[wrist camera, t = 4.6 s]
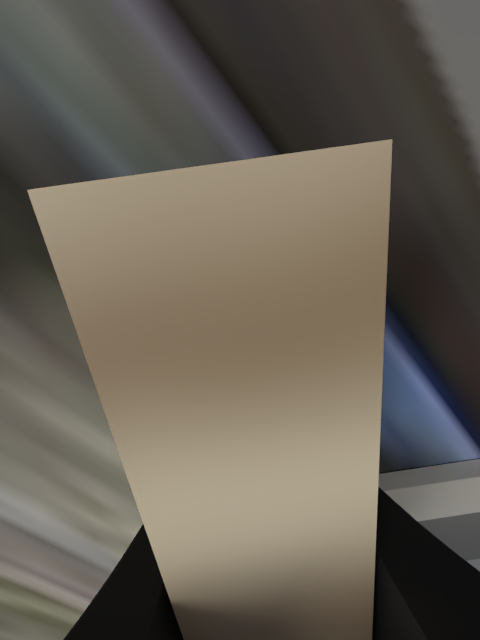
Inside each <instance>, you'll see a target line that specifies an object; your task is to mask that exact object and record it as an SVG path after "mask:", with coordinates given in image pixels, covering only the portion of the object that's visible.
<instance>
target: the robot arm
mask: <svg viewBox="0 0 480 640" xmlns="http://www.w3.org/2000/svg"><path fill="white" fill-rule="evenodd" d="M64 640H184V639H183V636H182V633H181V630H180V627H179V625H178V622H177V619H176V616H175V613H174V610H173V607H172V604H171V602H170V599H169V596H168V593H167V590H166V587H165V584H164V582H163V579H162V576H161V573H160V570H159V567H158V564H157V561H156V559H155V556H154V553H153V550H152V547H151V544H150V541H149V538H148V536H147V533H146V530H145V527H144V524H143V525H142V527H141V528H140V530H139V531H138V533H137V535H136V536H135V538H134V539H133V541H132V542H131V544H130V546H129V547H128V549H127V550H126V552H125V553H124V555H123V557H122V558H121V560H120V561H119V563H118V564H117V566H116V567H115V569H114V570H113V572H112V573H111V575H110V576H109V578H108V579H107V580H106V582H105V583H104V585H103V586H102V588H101V589H100V590H99V592H98V593H97V595H96V596H95V597H94V599H93V600H92V602H91V603H90V605H89V606H88V607H87V609H86V610H85V611H84V613H83V614H82V616H81V617H80V618H79V620H78V621H77V622H76V624H75V625H74V626H73V628H72V629H71V630H70V632H69V633H68V634H67V636H66V637H65V638H64ZM372 640H480V571H478V570H477V569H476V568H475V567H473V566H472V565H471V564H469V563H468V562H467V561H465V560H464V559H463V558H462V557H460V556H459V555H458V554H457V553H455V552H454V551H453V550H452V549H450V548H449V547H448V546H447V545H445V544H444V543H443V542H442V541H440V540H439V539H438V538H437V537H436V536H434V535H433V534H432V533H431V532H430V531H428V530H427V529H426V528H425V527H424V526H422V525H421V524H420V523H419V522H418V521H417V520H415V519H414V518H413V517H412V516H411V515H410V514H409V513H407V512H406V511H405V510H404V509H403V508H402V507H401V506H400V505H398V504H397V503H396V502H395V501H394V500H393V499H392V498H391V497H390V496H388V495H387V494H386V493H385V492H384V491H383V490H382V489H381V488H380V487H379V486H378V505H377V530H376V554H375V579H374V604H373V628H372Z"/></svg>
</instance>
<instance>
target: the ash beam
mask: <svg viewBox="0 0 480 640" xmlns="http://www.w3.org/2000/svg"><path fill="white" fill-rule="evenodd" d="M391 159H392V139H391V140H384V141H376V142H369V143H362V144H355V145H348V146H340V147H333V148H326V149H319V150H311V151H304V152H297V153H290V154H282V155H275V156H268V157H261V158H253V159H246V160H239V161H232V162H225V163H217V164H210V165H203V166H196V167H188V168H181V169H174V170H167V171H159V172H152V173H145V174H138V175H130V176H123V177H116V178H109V179H101V180H94V181H87V182H80V183H73V184H65V185H58V186H51V187H44V188H36V189H29V190H27V191H28V194H29V197H30V200H31V203H32V206H33V209H34V211H35V214H36V217H37V220H38V223H39V226H40V229H41V232H42V234H43V237H44V240H45V243H46V246H47V249H48V252H49V254H50V257H51V260H52V263H53V266H54V269H55V272H56V275H57V277H58V280H59V283H60V286H61V289H62V292H63V295H64V298H65V300H66V303H67V306H68V309H69V312H70V315H71V318H72V320H73V323H74V326H75V329H76V332H77V335H78V338H79V341H80V343H81V346H82V349H83V352H84V355H85V358H86V361H87V363H88V366H89V369H90V372H91V375H92V378H93V381H94V384H95V386H96V389H97V392H98V395H99V398H100V401H101V404H102V407H103V409H104V412H105V415H106V418H107V421H108V424H109V427H110V429H111V432H112V435H113V438H114V441H115V444H116V447H117V450H118V452H119V455H120V458H121V461H122V464H123V467H124V470H125V472H126V475H127V478H128V481H129V484H130V487H131V490H132V493H133V495H134V498H135V501H136V504H137V507H138V510H139V513H140V516H141V518H142V521H143V524H144V527H145V530H146V533H147V536H148V538H149V541H150V544H151V547H152V550H153V553H154V556H155V559H156V561H157V564H158V567H159V570H160V573H161V576H162V579H163V582H164V584H165V587H166V590H167V593H168V596H169V599H170V602H171V604H172V607H173V610H174V613H175V616H176V619H177V622H178V625H179V627H180V630H181V633H182V636H183V639H184V640H372V628H373V604H374V579H375V554H376V530H377V505H378V480H379V456H380V431H381V406H382V382H383V357H384V332H385V307H386V283H387V258H388V233H389V209H390V184H391Z"/></svg>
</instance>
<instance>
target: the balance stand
mask: <svg viewBox="0 0 480 640" xmlns="http://www.w3.org/2000/svg"><path fill="white" fill-rule="evenodd" d="M378 486H379V487H380V488H381V489H382V490H383V491H384V492H385V493H386V494H387V495H388V496H390V497H391V498H392V499H393V500H394V501H395V502H396V503H397V504H398V505H400V506H401V507H402V508H403V509H404V510H405V511H406V512H407V513H409V514H410V515H411V516H412V517H413V518H414V519H415V520H417V521H418V522H419V523H420V524H421V525H422V526H424V527H425V528H426V529H427V530H428V531H430V532H431V533H432V534H433V535H434V536H436V537H437V538H438V539H439V540H440V541H442V542H443V543H444V544H445V545H447V546H448V547H449V548H450V549H452V550H453V551H454V552H455V553H457V554H458V555H459V556H460V557H462V558H463V559H464V560H465V561H467V562H468V563H469V564H471V565H472V566H473V567H475V568H476V569H477V570H478V571H480V459H475V460H468V461H462V462H455V463H449V464H442V465H435V466H429V467H422V468H416V469H409V470H402V471H396V472H389V473H383V474H379V480H378Z"/></svg>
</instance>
